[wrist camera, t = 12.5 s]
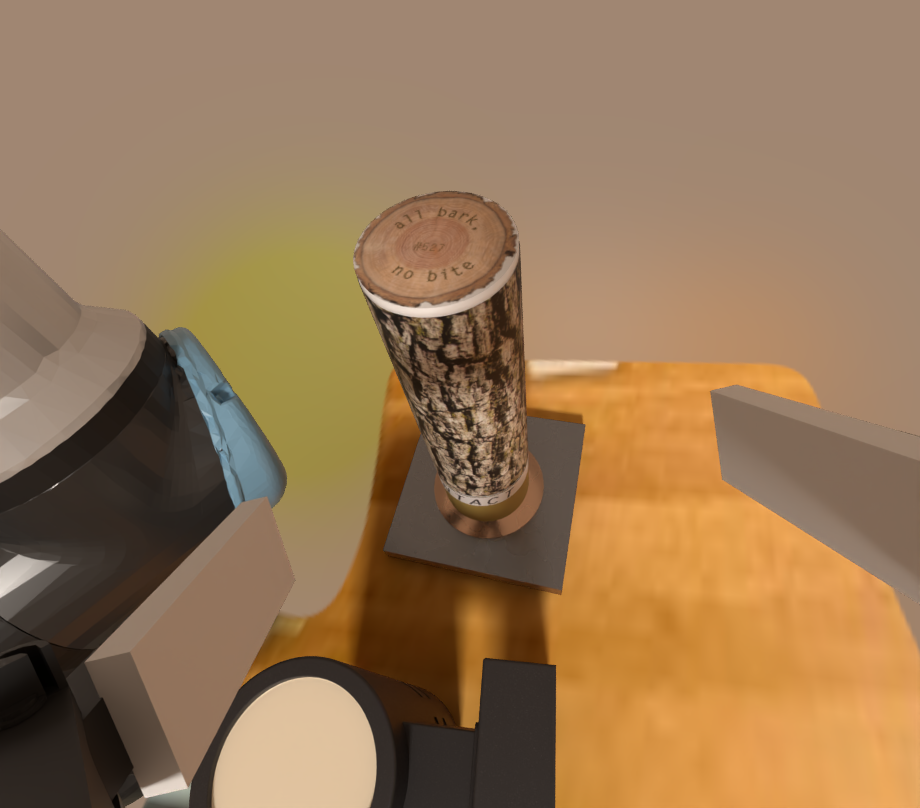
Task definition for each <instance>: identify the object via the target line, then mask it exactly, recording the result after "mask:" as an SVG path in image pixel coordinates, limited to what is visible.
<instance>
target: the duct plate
mask: <svg viewBox="0 0 920 808" xmlns="http://www.w3.org/2000/svg"><path fill="white" fill-rule="evenodd" d="M584 431H585V424H578V423H571V422H564V421H557V420H550V419H543V418H536V417H529V416H527V438H528V471H529V486H528V491H527V494H526V496H525V498H524V500H523V502H522V503H521V505H520V506H519V507H518V508H517V509H516V510H515V511H514V512H513V513H511V514H510V515H508V516H507V517H504V518H502V519H499V520H495V521H486V522H485V521H477V520H473V519H470V518H468V517H466V516H464V515H463V514H461V513H460V512H459V511H458V510H457V509H456V508H455V507H454V506H453V505H452V503H451V502H450V500H449V498H448V496H447V493H446V491H445V488H444V486H443V484H442V482H441V480H440V477H439V475H438V472H437V470H436V468H435V465H434V463H433V460H432V458H431V456H430V453H429V451H428V448H427V446H426V443H425V441H424V439H423V436H422V434H421V435H420V438H419V441H418V444H417V447H416V450H415V453H414V456H413V460H412V463H411V466H410V469H409V472H408V475H407V478H406V481H405V484H404V487H403V490H402V493H401V496H400V499H399V502H398V506H397V509H396V512H395V515H394V518H393V521H392V524H391V527H390V530H389V533H388V536H387V539H386V542H385V545H384V549H383V551H384V552H385V553H386V554H387V555H388V556H391V557H396V558H400V559H404V560H409V561H413V562H418V563H422V564H427V565H431V566H435V567H440V568H444V569H449V570H453V571H458V572H462V573H466V574H471V575H475V576H480V577H484V578H489V579H493V580H497V581H502V582H506V583H511V584H515V585H520V586H524V587H528V588H533V589H537V590H542V591H546V592H551V593H555V594H559V595H561V593H562V586H563V579H564V572H565V565H566V558H567V551H568V544H569V537H570V530H571V523H572V516H573V509H574V502H575V495H576V488H577V481H578V474H579V466H580V459H581V452H582V445H583V438H584Z"/></svg>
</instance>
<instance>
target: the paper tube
mask: <svg viewBox="0 0 920 808" xmlns="http://www.w3.org/2000/svg"><path fill="white" fill-rule="evenodd" d="M353 260H354V261H353V262H354V269H355V272H356V275H357V278H358V281H359V284H360V287H361V289H362V292H363V294H364V296H365V299H366V301H367V304H368V305H369V308H370V311H371V313H372V316H373V318H374V321H375V323H376V325H377V328H378V330H379V333H380V335H381V337H382V340H383V342H384V345H385V347H386V349H387V352H388V354H389V357H390V359H391V361H392V364H393V366H394V369H395V371H396V374H397V376H398V378H399V381H400V383H401V386H402V388H403V390H404V393H405V395H406V398H407V400H408V403H409V405H410V407H411V410H412V412H413V415H414V417H415V419H416V422H417V424H418V427H419V429H420V431H421V434H422V436H423V439H424V441H425V443H426V446H427V448H428V451H429V453H430V456H431V458H432V460H433V463H434V465H435V468H436V470H437V472H438V475H439V477H440V480H441V482H442V484H443V486H444V488H445V491H446V493H447V496H448V498H449V500H450V502H451V503H452V505H453V506H454V507H455V508H456V509H457V510H458V511H459V512H460V513H461V514H463V515H464V516H466V517H468V518H470V519H473V520H477V521H485V522H486V521H495V520H499V519H502V518H504V517H507V516H508V515H510V514H511V513H513V512H514V511H515V510H516V509H517V508H518V507H519V506H520V505H521V503H522V502H523V500H524V498H525V496H526V494H527V491H528V486H529V471H528V438H527V413H526V387H525V362H524V337H523V314H522V313H523V312H522V290H521V289H522V288H521V287H522V286H521V261H520V244H519V235H518V230H517V226H516V224H515V222H514V220H513V218H512V217H511V216H510V215H509V213H508V212H507V211H506V210H505V209H504V208H503V207H501V206H500V205H499V204H497V203H495V202H494V201H492V200H490V199H488V198H486V197H483V196H480V195H476V194H472V193H467V192H457V191H443V192H434V193H428V194H423V195H419V196H415V197H412V198H410V199H407V200H404V201H402V202H400V203H398V204H395V205H394V206H392V207H390V208H388V209H387V210H386V211H384V212H382V213H381V214H380V215H378V216H377V217H376V218H375V219H374V220H373V221H372V222H371V223H370V224H369V225H368V226H367V227H366V228H365V230H364V231H363V233H362V234H361V236H360V238H359V239H358V242H357V244H356V247H355V251H354V257H353Z"/></svg>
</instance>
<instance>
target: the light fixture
mask: <svg viewBox="0 0 920 808" xmlns="http://www.w3.org/2000/svg"><path fill="white" fill-rule="evenodd" d="M555 743H556V665H548V664H538V663H529V662H519V661H510V660H500V659H490V658H485V659H484V660H483V670H482V684H481V697H480V711H479V722H476V724H475V729H472V728H465V727H457V726H456V725H455V722H454V720H453V718H452V716H451V714H450V712H449V711H448V709H447V708H446V707H445V705H444V704H443V703H442V702H441V701H440V700H439V699H438V698H437V697H436V696H435V695H433V694H432V693H430V692H428V691H427V690H425V689H422V688H419V687H416V686H413V685H410V684H407V683H404V682H401V681H398V680H395V679H392V678H389V677H386V676H383V675H380V674H376V673H373V672H370V671H367V670H364V669H361V668H358V667H355V666H352V665H349V664H346V663H343V662H340V661H337V660H333V659H330V658H325V657H317V656H306V657H298V658H293V659H289V660H285V661H282V662H279V663H277V664H275V665H272V666H271V667H269V668H267V669H265V670H263V671H262V672H260V673H258V674H257V675H256V676H254V677H253V678H251V679H250V680H249V681H248V682H247V683H245V684H244V685H243V686H242V687H241V688H240V689H239V690H238V692H237V694H236V696H235V698H234V700H233V702H232V704H231V706H230V708H229V710H228V711H227V713H226V715H225V717H224V719H223V721H222V723H221V725H220V727H219V729H218V731H217V733H216V735H215V737H214V739H213V741H212V742H211V744H210V746H209V748H208V750H207V752H206V754H205V756H204V758H203V760H202V762H201V764H200V766H199V768H198V770H197V771H196V773H195V775H194V777H193V779H192V783H191V790H190V800H189V808H555Z"/></svg>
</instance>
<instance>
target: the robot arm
mask: <svg viewBox="0 0 920 808" xmlns="http://www.w3.org/2000/svg"><path fill="white" fill-rule="evenodd" d="M710 392H711V399H712V407H713V414H714V421H715V429H716V436H717V444H718V451H719V459H720V466H721V474H722V480H724V481H726V482H727V483H729V484H730V485H732V486H733V487H735V488H737V489H738V490H740V491H741V492H743V493H744V494H746V495H748V496H749V497H751V498H752V499H754V500H756V501H757V502H759V503H760V504H762V505H763V506H765V507H767V508H768V509H770V510H771V511H773V512H774V513H776V514H778V515H779V516H781V517H782V518H784V519H786V520H787V521H789V522H790V523H792V524H793V525H795V526H797V527H798V528H800V529H801V530H803V531H804V532H806V533H808V534H809V535H811V536H812V537H814V538H815V539H817V540H819V541H820V542H822V543H823V544H825V545H827V546H828V547H830V548H831V549H833V550H834V551H836V552H838V553H839V554H841V555H842V556H844V557H845V558H847V559H849V560H850V561H852V562H853V563H855V564H857V565H858V566H860V567H861V568H863V569H864V570H866V571H868V572H869V573H871V574H872V575H874V576H875V577H877V578H879V579H880V580H882V581H883V582H885V583H886V584H888V585H890V586H891V587H893V588H894V589H896V590H898V591H899V592H901V593H903V594H904V595H906V596H907V597H909V598H910V599H912V600H913V601H915V602H917V603H918V604H920V436H916V435H913V434H909V433H906V432H902V431H898V430H894V429H890V428H887V427H884V426H880V425H877V424H873V423H870V422H866V421H863V420H859V419H856V418H852V417H848V416H845V415H841V414H838V413H834V412H830V411H827V410H824V409H820V408H817V407H813V406H810V405H806V404H803V403H799V402H796V401H792V400H789V399H785V398H782V397H778V396H775V395H771V394H767V393H764V392H760V391H757V390H753V389H750V388H746V387H743V386H739V385H733V386H729V387H725V388H720V389H716V390H712V391H710ZM286 484H287V475H286V471H285V468H284V466H283V464H282V462H281V461H280V459H279V457H278V455H277V454H276V452H275V450H274V449H273V447H272V446H271V444H270V443H269V441H268V440H267V438H266V436H265V435H264V433H263V432H262V430H261V429H260V427H259V426H258V424H257V423H256V421H255V420H254V418H253V417H252V415H251V414H250V412H249V411H248V409H247V408H246V407H245V405H244V404H243V402H242V401H241V400H240V398H239V397H238V396H237V394H236V393H234V391H233V390H232V387H231V386H230V385H229V383H228V381H227V380H226V379H225V377H224V376H223V374H222V372H221V371H220V369H219V368H218V366H217V365H216V364H215V362H214V361H213V359H212V358H211V357H210V355H209V354H208V353H207V351H206V350H205V349H204V347H203V346H202V345H201V343H200V342H199V341H198V339H197V338H196V337H195V336H194V335H193V334H192V333H191V332H190V331H189V330H188V329H186V328H182V327H178V328H176V329H174V330H165V331H163V332H161V333H160V334H159V337H157V336H156V335H155V334H154V333H153V332H152V331H151V330H150V329H149V328H148V327H147V326H146V325H145V324H144V323H143V322H142V321H141V320H140V319H139V318H138V317H137V316H136V315H135V314H133V313H131V312H129V311H126V310H122V309H113V308H103V307H94V306H85V305H81V304H79V303H78V302H76V301H74V300H73V299H72V298H71V297H70V296H69V295H68V294H67V293H66V292H65V291H64V290H63V289H62V288H61V287H59V285H58V284H57V283H56V282H54V280H53V279H52V278H50V277H49V276H48V275H47V274H46V273H45V272H44V271H43V270H42V269H41V268H40V267H39V266H38V265H37V264H36V263H35V262H34V261H33V260H32V259H31V258H30V257H29V256H28V255H27V254H26V253H25V252H24V251H23V250H21V249H20V248H19V247H18V246H17V245H16V244H15V243H14V242H13V241H12V240H11V239H10V238H9V237H8V236H7V235H6V234H5V233H4V232H3V231H2V230H1V229H0V808H125V806H127V805H129V804H131V803H133V802H134V801H136V800H137V799H139V798H141V797H142V796H144V797H145V798H148V797H152V796H156V795H160V794H165V793H169V792H173V791H178V790H182V789H186V788H188V787H189V785H190V783H191V781H192V779H193V777H194V775H195V773H196V771H197V770H198V768H199V766H200V764H201V762H202V760H203V758H204V756H205V754H206V752H207V750H208V748H209V746H210V744H211V742H212V741H213V739H214V737H215V735H216V733H217V731H218V729H219V727H220V725H221V723H222V721H223V719H224V717H225V715H226V713H227V711H228V710H229V708H230V706H231V704H232V702H233V700H234V698H235V696H236V694H237V692H238V690H239V688H240V686H241V684H242V682H243V681H244V679H245V677H246V675H247V673H248V671H249V669H250V667H251V665H252V663H253V661H254V659H255V657H256V655H257V653H258V652H259V650H260V648H261V646H262V644H263V642H264V640H265V638H266V636H267V634H268V632H269V630H270V628H271V626H272V624H273V622H274V621H275V619H276V617H277V615H278V613H279V611H280V609H281V607H282V605H283V603H284V601H285V599H286V597H287V595H288V593H289V592H290V589H291V588H292V586H293V584H294V582H295V578H294V575H293V572H292V569H291V566H290V563H289V560H288V557H287V554H286V551H285V548H284V545H283V542H282V539H281V536H280V533H279V530H278V527H277V524H276V521H275V518H274V515H273V512H272V508H273V507H274V506H275V505H276V504H277V503H278V502H279V501H280V499H281V497H282V496H283V494H284V491H285V488H286Z"/></svg>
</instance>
